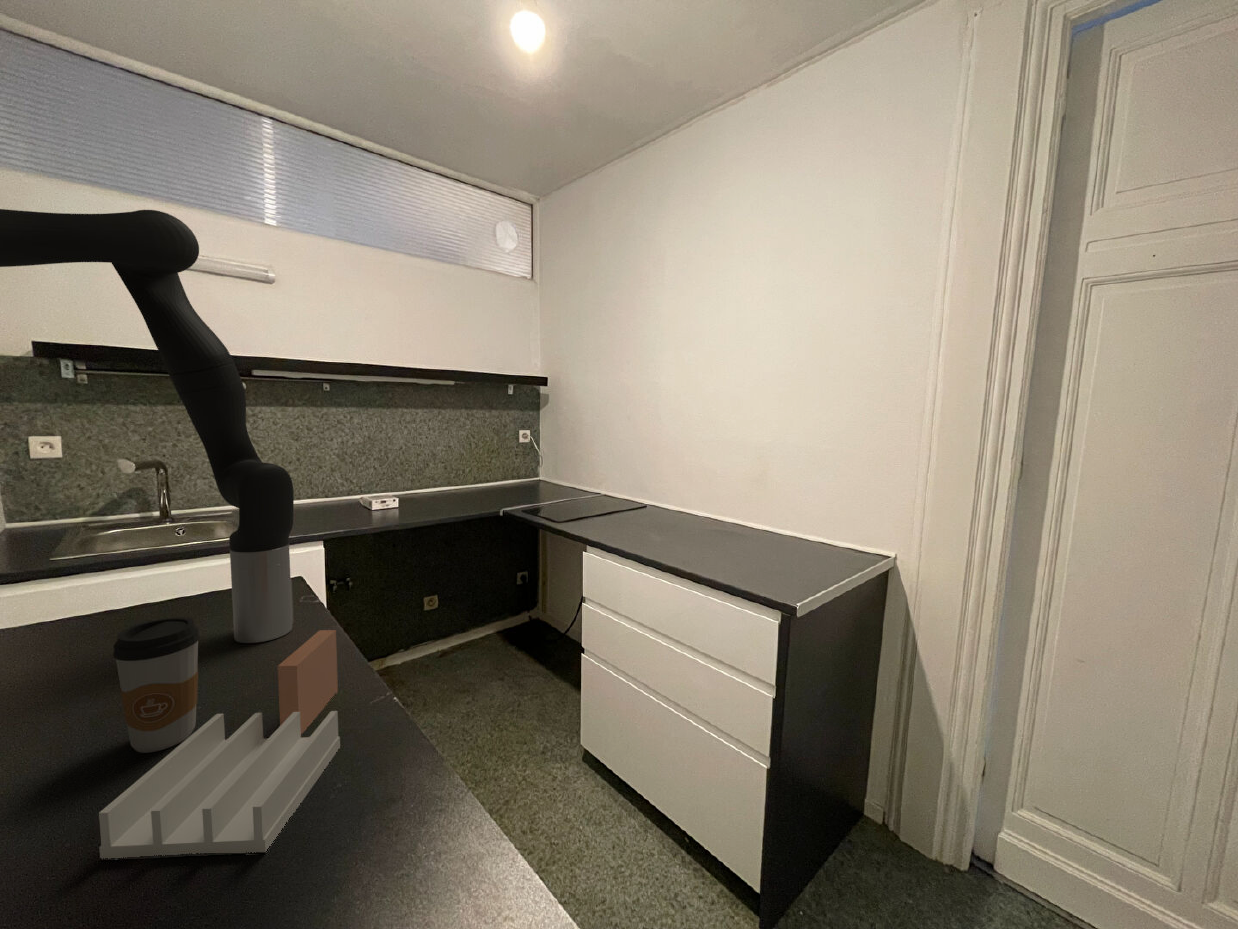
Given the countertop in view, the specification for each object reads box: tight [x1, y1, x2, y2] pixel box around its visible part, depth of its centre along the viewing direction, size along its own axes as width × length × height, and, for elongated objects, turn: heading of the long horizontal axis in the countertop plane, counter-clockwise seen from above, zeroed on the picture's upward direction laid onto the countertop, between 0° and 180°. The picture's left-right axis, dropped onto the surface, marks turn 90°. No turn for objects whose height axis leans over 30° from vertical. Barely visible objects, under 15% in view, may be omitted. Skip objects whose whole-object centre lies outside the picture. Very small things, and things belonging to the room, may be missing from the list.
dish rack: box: [98, 710, 341, 859], centre depth 57 cm, size 16×15×5 cm
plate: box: [277, 629, 339, 735], centre depth 73 cm, size 11×2×10 cm, turn 5°
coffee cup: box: [112, 616, 201, 754], centre depth 66 cm, size 8×8×15 cm
